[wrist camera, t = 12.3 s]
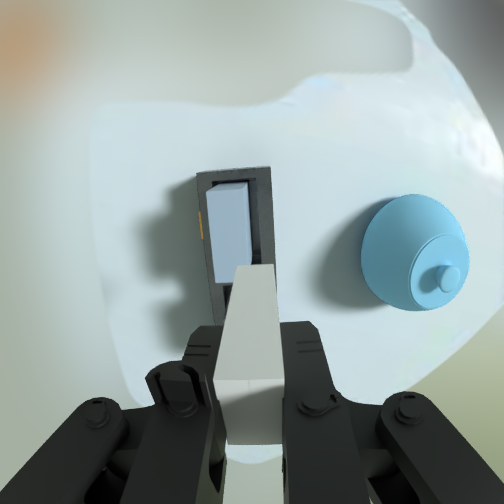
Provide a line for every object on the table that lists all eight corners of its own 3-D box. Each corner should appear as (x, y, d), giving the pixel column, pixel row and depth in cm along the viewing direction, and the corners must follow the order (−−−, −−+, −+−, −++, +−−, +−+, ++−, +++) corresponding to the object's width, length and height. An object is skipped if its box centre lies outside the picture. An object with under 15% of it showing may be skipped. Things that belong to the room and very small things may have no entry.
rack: (202, 171, 33) (175, 177, 22) (269, 166, 32) (272, 168, 22) (222, 336, 40) (211, 390, 29) (277, 334, 39) (280, 389, 29)
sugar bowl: (454, 202, 32) (507, 221, 21) (430, 297, 37) (470, 337, 26) (366, 182, 32) (411, 195, 21) (345, 293, 37) (373, 342, 26)
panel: (222, 182, 32) (206, 191, 22) (248, 180, 32) (243, 189, 22) (228, 248, 34) (215, 282, 25) (252, 247, 34) (249, 281, 25)
